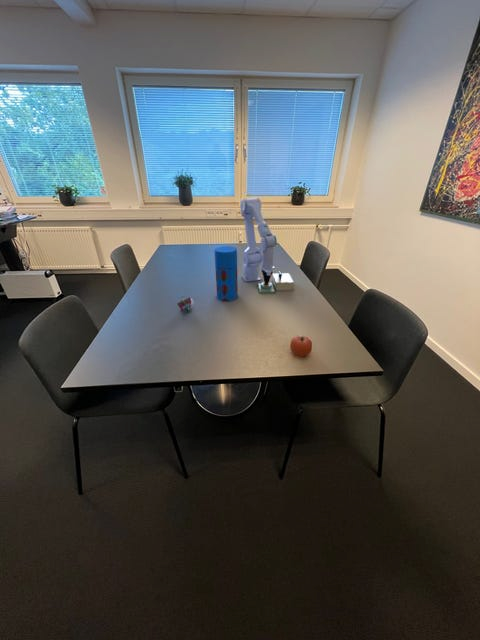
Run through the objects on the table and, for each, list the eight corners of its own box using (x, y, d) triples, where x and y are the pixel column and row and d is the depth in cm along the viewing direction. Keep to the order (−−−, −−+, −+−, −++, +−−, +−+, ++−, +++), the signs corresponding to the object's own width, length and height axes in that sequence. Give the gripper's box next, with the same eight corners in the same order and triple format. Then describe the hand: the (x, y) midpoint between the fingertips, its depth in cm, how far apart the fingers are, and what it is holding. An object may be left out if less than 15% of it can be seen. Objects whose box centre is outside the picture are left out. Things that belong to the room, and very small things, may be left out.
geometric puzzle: (175, 310, 118) (184, 297, 115) (174, 304, 123) (182, 290, 121) (188, 317, 121) (197, 303, 119) (187, 310, 127) (195, 297, 125)
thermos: (235, 302, 130) (234, 253, 117) (214, 300, 132) (211, 251, 119) (239, 292, 139) (239, 246, 126) (220, 291, 141) (217, 245, 128)
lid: (276, 283, 139) (276, 277, 137) (272, 274, 150) (272, 268, 148) (293, 283, 140) (294, 276, 138) (288, 274, 151) (289, 267, 149)
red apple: (313, 359, 92) (316, 342, 88) (291, 359, 92) (293, 343, 88) (308, 346, 98) (310, 330, 95) (287, 346, 98) (289, 330, 94)
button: (263, 287, 141) (263, 284, 140) (262, 284, 144) (263, 282, 143) (269, 287, 141) (269, 284, 140) (268, 284, 144) (268, 281, 143)
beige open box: (276, 290, 141) (276, 283, 139) (272, 281, 153) (273, 274, 150) (293, 290, 142) (293, 283, 140) (288, 280, 153) (288, 274, 151)
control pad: (260, 293, 138) (260, 288, 137) (257, 285, 148) (258, 280, 146) (274, 292, 139) (275, 287, 137) (271, 284, 148) (272, 279, 147)
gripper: (277, 263, 128) (275, 288, 136) (273, 254, 141) (271, 277, 148) (263, 263, 128) (262, 288, 135) (260, 254, 140) (259, 278, 148)
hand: (266, 283), depth 142 cm, fingers closed, pressing on button
